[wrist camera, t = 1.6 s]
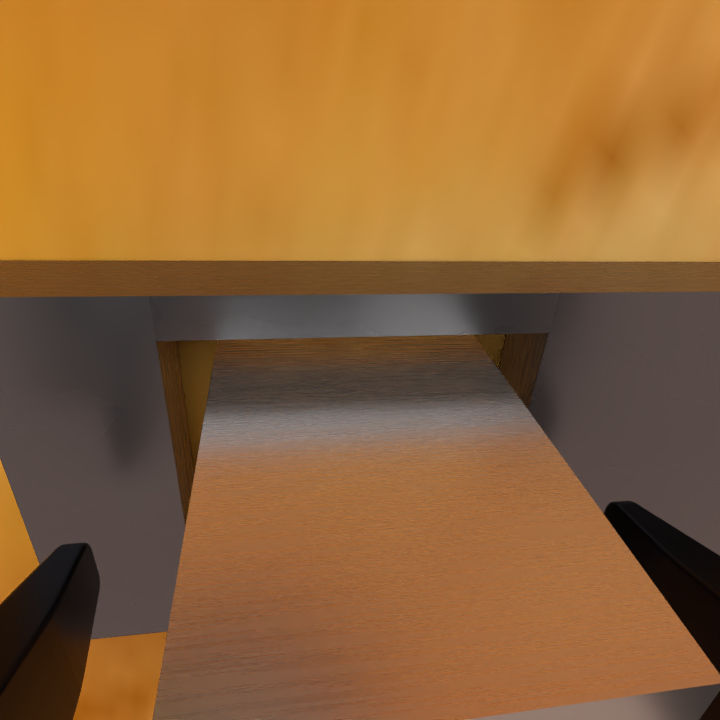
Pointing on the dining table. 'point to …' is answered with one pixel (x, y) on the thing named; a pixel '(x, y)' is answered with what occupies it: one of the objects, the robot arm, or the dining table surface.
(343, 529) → the brushed metal block
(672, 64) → the dining table surface
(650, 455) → the plate with rectangular hole
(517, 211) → the dining table surface
